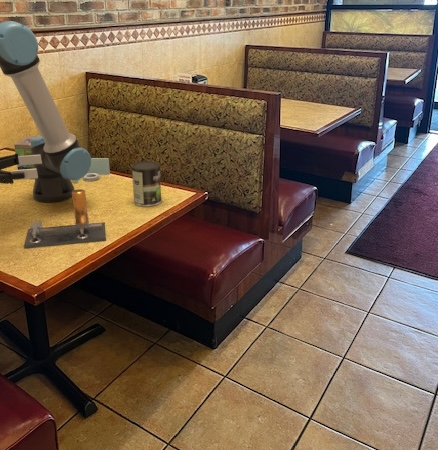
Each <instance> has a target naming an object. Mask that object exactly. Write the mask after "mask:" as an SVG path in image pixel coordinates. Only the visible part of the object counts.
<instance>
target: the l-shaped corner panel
mask: <svg viewBox="0 0 438 450" xmlns="http://www.w3.org/2000/svg"><path fill="white" fill-rule="evenodd" d="M109 160H110V157H109V158H108V157H107V158H105V157H102V158H101V157H99V158H98V157H91V167H90V168H89V171H88V173H87V174H86V175H85V176H84V177H83V178H82V180H83V181H85V182H90V183H91V182H95V181H98V180H100V175H102V176H107V175H108V176H110V175H111V171H110V161H109ZM80 180H81V179H79V180H73V181H74V184H78V183H79V182H80Z"/></svg>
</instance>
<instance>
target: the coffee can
mask: <svg viewBox="0 0 438 450" xmlns="http://www.w3.org/2000/svg"><path fill="white" fill-rule="evenodd" d="M130 167H131V174H132V177H131V178H132V189H133V190H132V191H133V204H134V205H136V206H138V207H148V208H149V207H155V206H158V205H160V204H161V203H162V201H163V200H162V187H161V186H162V183H161V164H160V163H159V162H157V161H148V160H144V161H138V162H135V163H134V162H133V163H132V164H131V166H130Z"/></svg>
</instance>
